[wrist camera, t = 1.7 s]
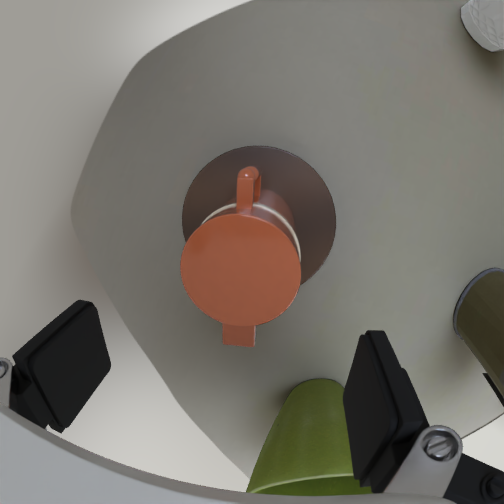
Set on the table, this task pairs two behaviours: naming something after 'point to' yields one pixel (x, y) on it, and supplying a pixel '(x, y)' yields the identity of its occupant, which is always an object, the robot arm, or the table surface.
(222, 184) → the turntable
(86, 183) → the table surface
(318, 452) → the flower pot
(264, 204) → the jug
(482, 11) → the white cup
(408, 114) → the table surface
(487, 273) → the canister
